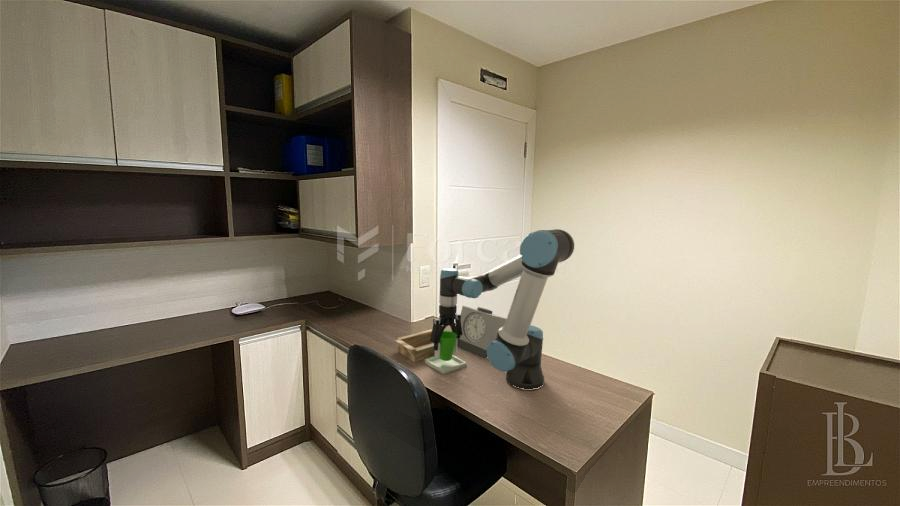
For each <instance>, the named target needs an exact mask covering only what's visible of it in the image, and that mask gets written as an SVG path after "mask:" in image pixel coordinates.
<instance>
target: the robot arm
mask: <svg viewBox="0 0 900 506" xmlns="http://www.w3.org/2000/svg"><path fill="white" fill-rule="evenodd" d="M574 250H575V240H574V239H573V237H572V235H571V234H570V233H569V232H567V231H565V230H563V229H560V228H559V229H558V228H557V229H548V230H547V229H541V230H540V229H538V230H535V231H533V232H530V233H528V234H527V235H526V236H525V237H524V238H523V239H522V240H521V243H520V247H519V255H518V256H516V257H514V258H512V259H510V260H508V261H506V262H504V263H502V264H500V265H498V266H496V267H494V268H493V269H491V270H489V271H487V272H484V273H482V274H478V275H473V276H467V277H466V276H462V275H459V270H458V269H456V268H453V267H445V268H442V269H441V270H440V275H439V283H440V284H439V302H438V303H439V306H438V313H439V316H438V318H433V320H432V323H433V326H432V328H431V329H432V333H431V338H430V341H431V342H432V343H434V350H435V357H437V358H440V343H439V341H440V339H441V336H442V334H443V331H445V329H446V328H447V327H450V329H451V330H450V331H452V332H454V333H456V334H457V337H456V340H455V344H454V349H453V353H458V347H457V344H458V341H459V338H460V337H461V336H462V334H463V333H462V326H461V314H459V313H457V307H458V306H457V304H458V295H460V296H463V297H465V298H468V299H470V298H471V299H477V298H479V296H481V295H482V293H486V292H491V291H493V290H495V289H498V287H501V286H502V285H505V284H507V283H510V282H511V281H513V280H516V279H518V278H519V277H520V278H519V282H518V285H517V287H516V290H515V294H514V297H513V299H512V302H511V305H510V309H509V312H508V314H507V317H506V322H505V325H504V326H503V327H501V328H499V330H498V333H497V336H496V339H495V340H494V341H491V342H490V343H489V344H488V346H487V357H488V358H487V359H488V360H489V361H488V362H489V363H490V365H491V366H492V367H493V368H494V369H496V370H497V371H500V372H503V373H504V372H506V373H505V380H507V381H506V383H507V384H509V383H510V384H511V385H514V386H516V387H519V388H524V389H533V388H538V387H540V386H542V385H543V383H544V384H545V376H544V374H543V369H542V365H541V364H542V356H543V345H544V344H543V342H544V332H543V330H542V329H541V328H540V327H537V326H534V325H531V324H532V322H533V319H534V317H535V314H536V311H537V308H538V305H539V302H540V300H541V297H542V295H543V291H544V288H545V286H546V283H547V281H548V278H550V277H553V276H554V275H555V273H556V270H557V266H558V264H559V263H562V262H565V261H567V260H568V259H570V258H571V256H572V255H573V253H574ZM460 335H461V336H460ZM432 343H431V344H432ZM510 384H509V385H510ZM511 385H510V386H511ZM543 386H544V385H543Z"/></svg>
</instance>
